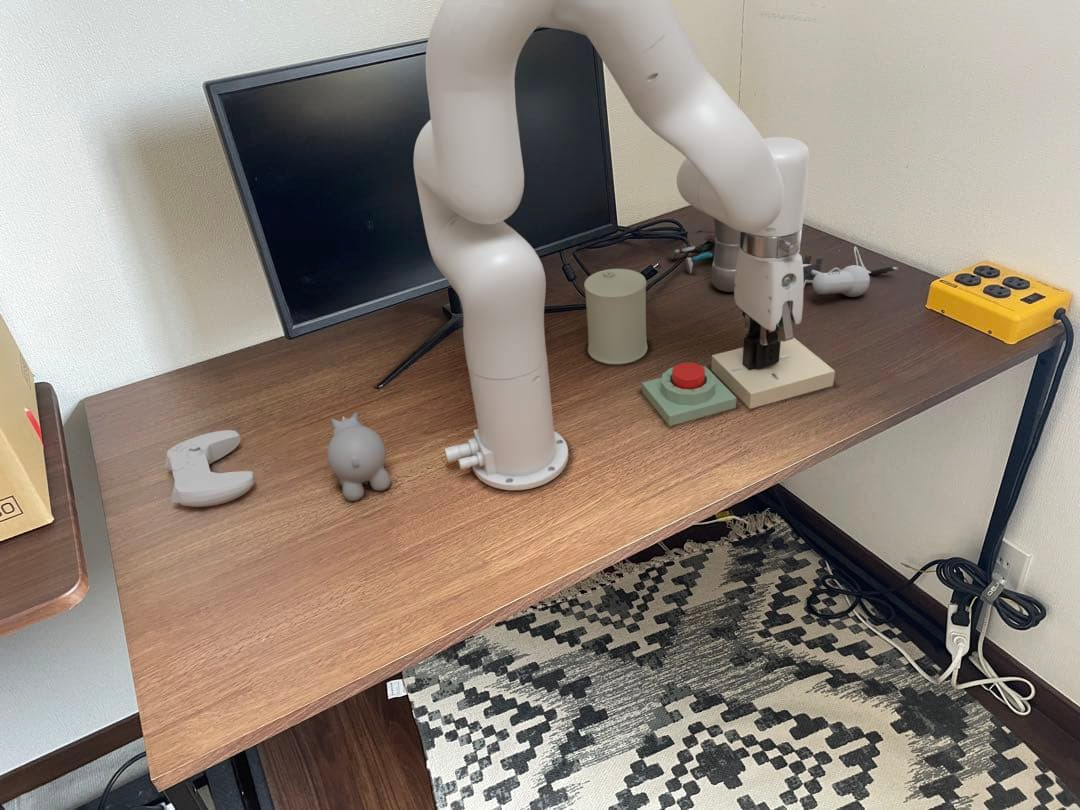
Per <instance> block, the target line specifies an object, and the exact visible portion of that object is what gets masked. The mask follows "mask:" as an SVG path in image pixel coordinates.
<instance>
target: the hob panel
mask: <svg viewBox="0 0 1080 810" xmlns="http://www.w3.org/2000/svg"><path fill="white" fill-rule="evenodd" d="M743 347H744V346H742V347H738V348H735V349H731V350H727V351H723V352H720V353H715V354H712V355H711V367H710V369H711V370H710V371H711V372H712V373H713V374H714V375H715V376H716V377H717V378H718V379H719V380H721V382H722V383H723V384H724V385H725V386H727V388H728V389H729V390H731V392H732V393H734V395H736V396H737V398H739V400H740V401H742V402H743V404H744V405H745V406H746V407H747V408H748V409H749V410H750V409H751V410H752V409H754V408H757V407H761V406H765V405H768V404H772V403H776V402H781V401H782V400H786V399H790V398H794V397H797V396H801V395H803V394H804V395H805V394H808V393H812V392H815V391H820V390H823V389H827V388H831V387H833V386H834V381H835V374H836V370H834V369H833V368H832V366H830V365H828V364H827V363H826V362H825V361H823V360H822V359H821V358H820V357H819V356H817V354H815V353H813V352H812V351H811V350H810V349H809V348H808V347H806V346H805V345H804V344H802V343H801V342H800V341H799V340H798V339H797V338H795V337H794V336H793V339H792V340H788V341H785V342H783V341H781V344H780V355H779V362H777V363H776V364H774V365H771V366H767V367H763V368H760V369H758V368H756V369H752V370H748V369H747V368H746V367H745V366H744V365H742V362H743Z"/></svg>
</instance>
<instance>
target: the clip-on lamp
mask: <svg viewBox="0 0 1080 810" xmlns="http://www.w3.org/2000/svg"><path fill="white" fill-rule="evenodd" d="M853 253H854V258H855V262H856V264H851V265H848V266H845V267H844V268H843V269H841V268H840V267H834V268H832V269H830V270H829V271H828V272H821V267H822V262H823V258H822V257H817V258H816V259H815V262H814V263H811V260H812V255H811V254H806V255H805V256H804V259H802V263H803V276H804V287H805V286H806V284H811V285H812V289H813V291H814V292H815V293H816V294H817V295H832V294H834V295H835V294H842V295H844V296H846V297H849V298H850V297H851V298H855V297H859V296H862V295H863V294H865V293H866V292H867V291H868V289H869V287H870V282H871V277H870V274H871V275H874V276H875V275H878V276H880V275H882V274H888V273H889V272H893V271H898V270H899V267H895V266H894V265H893V266H886V267H882V268H877V269H872V270H868V269H867V268H866V267H865V265H864V263H863V260H862V257H861V255H860V252H859V250H858V247H857V246H854V247H853ZM858 260H859V261H858ZM859 263H860V265H859Z"/></svg>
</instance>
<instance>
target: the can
mask: <svg viewBox="0 0 1080 810" xmlns="http://www.w3.org/2000/svg"><path fill="white" fill-rule="evenodd" d="M583 284H584V285H583V286H584V291H585V292H584V294H585V304H586V305H585V306H586V320H587V340H588V341H587V343H588V344H587V345H588V346H587V352H588V355H589V356H590V357H591V358H592V359H593V360H595V361H597V362H599V363H602V364H607V365H626V364H631V363H634V362H636V361H638V360H640V359H641V358H643V357H645V355H646V353H647V352H648V342H647V341H648V340H647V306H646V305H647V301H646V300H647V297H646V295H647V292H646V291H647V279H646V277H645V276H644V275H643V274H642V273H640V272H638V271H635V270H632V269H628V268H610V269H604V270H601V271H596V272H594V273H592V274H591V275H589V276H588V277H587V278H586V279H585V280H584V283H583Z"/></svg>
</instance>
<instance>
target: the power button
mask: <svg viewBox="0 0 1080 810" xmlns="http://www.w3.org/2000/svg"><path fill="white" fill-rule="evenodd" d="M673 367H674V368H673V370H672V383H673V385H674V386H675V387H678V388H681V389H696V388H700V387H702V386H703V384H704V382H705V370H704V368H703V366H702V365H701V364H699V363H696V362H687V361H686V362H680V363H677V365H675V366H673Z"/></svg>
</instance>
